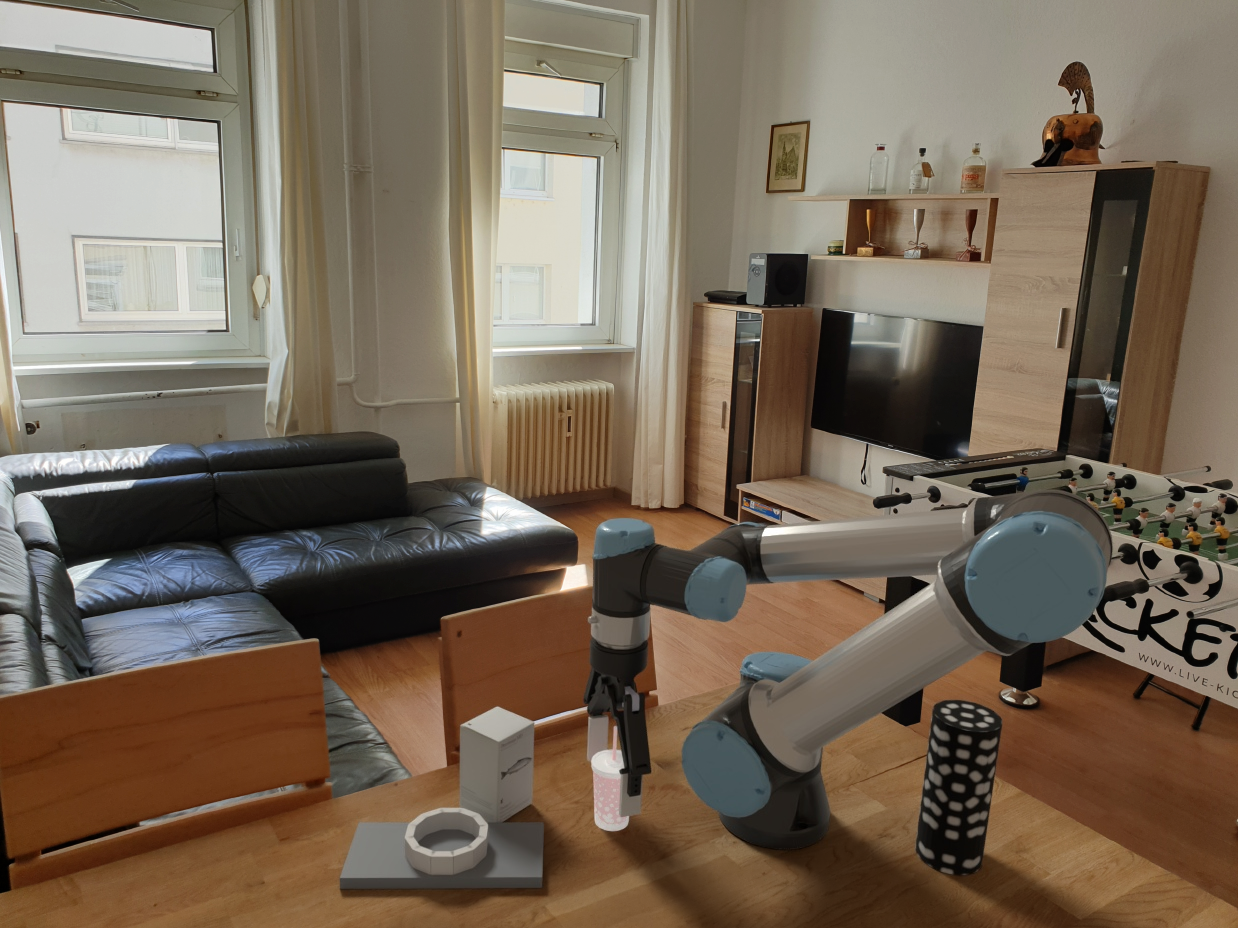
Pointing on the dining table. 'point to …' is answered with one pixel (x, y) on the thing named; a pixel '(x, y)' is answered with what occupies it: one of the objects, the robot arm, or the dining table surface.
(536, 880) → the collar board
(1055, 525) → the robot arm
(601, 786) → the beverage cup
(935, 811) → the spotted tube
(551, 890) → the dining table surface
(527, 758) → the supplement box
